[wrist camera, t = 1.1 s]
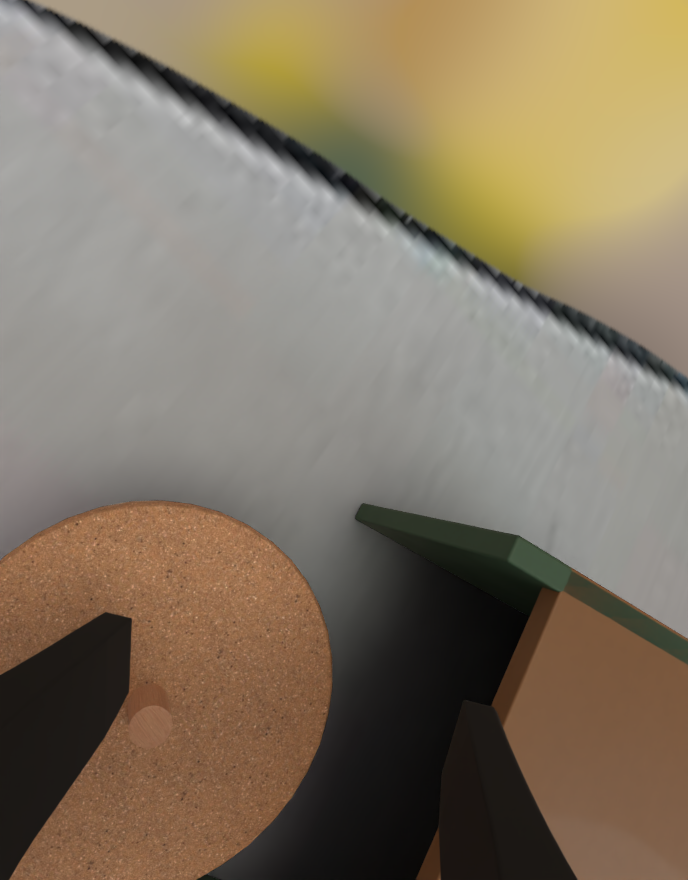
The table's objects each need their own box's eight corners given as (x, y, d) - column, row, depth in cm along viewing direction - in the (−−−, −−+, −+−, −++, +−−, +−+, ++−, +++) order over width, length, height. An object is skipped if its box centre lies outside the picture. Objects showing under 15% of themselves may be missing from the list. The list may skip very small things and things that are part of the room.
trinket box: (185, 435, 24) (222, 426, 15) (319, 646, 26) (420, 746, 17) (-84, 595, 21) (-232, 699, 12) (90, 824, 23) (70, 1060, 14)
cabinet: (166, 885, 24) (202, 1238, 13) (361, 502, 27) (519, 534, 16) (420, 963, 27) (609, 1286, 17) (564, 619, 31) (800, 706, 20)
